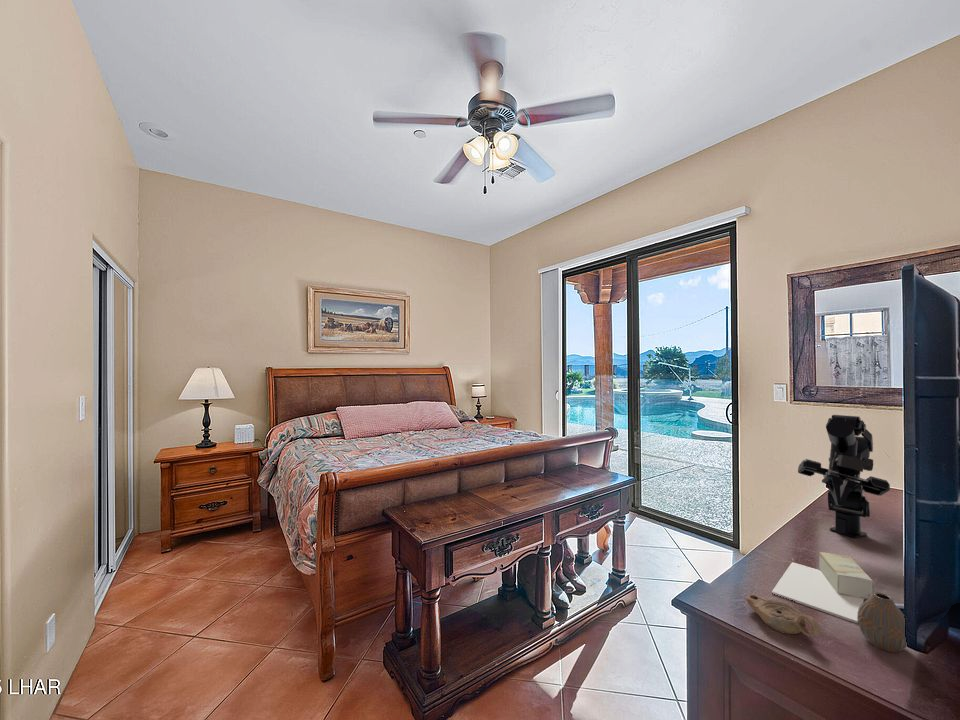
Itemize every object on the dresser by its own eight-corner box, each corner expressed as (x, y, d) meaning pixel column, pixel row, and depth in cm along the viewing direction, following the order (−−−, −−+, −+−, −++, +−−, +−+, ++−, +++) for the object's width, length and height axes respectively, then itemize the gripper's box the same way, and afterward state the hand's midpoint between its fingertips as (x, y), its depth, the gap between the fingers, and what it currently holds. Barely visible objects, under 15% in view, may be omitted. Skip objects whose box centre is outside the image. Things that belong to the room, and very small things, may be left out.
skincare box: (850, 556, 98) (875, 580, 86) (850, 575, 97) (875, 601, 86) (817, 551, 100) (837, 573, 89) (818, 569, 100) (837, 594, 89)
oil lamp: (737, 610, 84) (737, 586, 84) (765, 604, 86) (765, 581, 86) (801, 653, 72) (801, 625, 72) (833, 646, 73) (832, 618, 73)
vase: (922, 660, 70) (921, 609, 70) (875, 655, 71) (874, 604, 71) (890, 634, 76) (890, 587, 77) (848, 629, 78) (847, 583, 78)
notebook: (792, 564, 103) (792, 562, 103) (867, 586, 93) (867, 584, 93) (771, 593, 90) (771, 591, 90) (857, 623, 80) (857, 621, 80)
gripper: (812, 433, 116) (806, 484, 109) (900, 454, 107) (899, 511, 100) (800, 448, 124) (794, 496, 118) (881, 468, 115) (878, 522, 109)
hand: (839, 505), depth 111 cm, fingers closed
